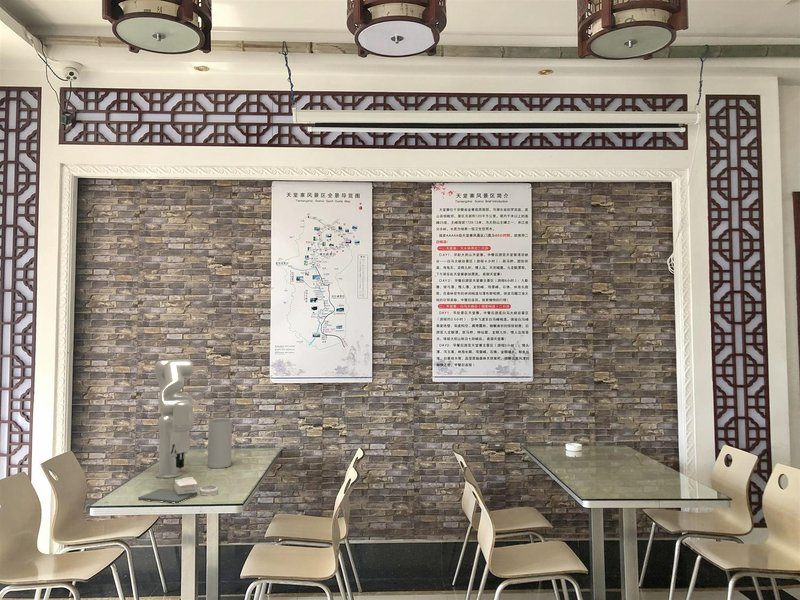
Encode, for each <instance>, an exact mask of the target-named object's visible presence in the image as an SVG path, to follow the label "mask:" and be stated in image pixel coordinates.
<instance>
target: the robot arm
mask: <svg viewBox="0 0 800 600" xmlns="http://www.w3.org/2000/svg"><path fill="white" fill-rule="evenodd" d="M194 372H195V367H194V363H193V362H192V360H190V359H163V360H158V361H156V362H155V365H154V375H155V378H156V381H157V383H158V387H159V395H158V409H159V414H161V416H160V417H158V421H157V427H158V435H159V439H158V440H159V441H158V442H159V444H158V450H159V451H158V472H156V473H155V475H154V476H155V477H156V478H159V479H171V478H176V477H179V476H181V475H182V471H180V469H182V468H184V467H185V458H186V454H188V452H189V450H190V447H191V436H190V435H191V434H190V433H191V432H190V431H191V430H193V428H194V425H195V422H194V421H195V418H194V406H193V405H194V402H193V398H192V395H191V394H190V393H189V392H188V393H187V392H180V391H181V390H183V388H184V387H185V382H184V377H185V378H187V377H191V376H193V375H194Z"/></svg>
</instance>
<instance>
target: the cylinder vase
mask: <svg viewBox="0 0 800 600" xmlns="http://www.w3.org/2000/svg"><path fill="white" fill-rule="evenodd" d="M207 429H208V432H207V433H208V434H207V435H208V436H207V467H208V468H210V469H225V467H226V468H229V467H231V465H232V443H233V442H232V440H233V439H232V436H233V431H232V430H233V419H229V418H216V419H210V420H208V428H207Z"/></svg>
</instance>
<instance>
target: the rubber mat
mask: <svg viewBox="0 0 800 600" xmlns="http://www.w3.org/2000/svg"><path fill="white" fill-rule="evenodd" d="M194 495H196V496H198V491H197V492H196V493H188V494H179V495H178V494H177V492H176V491H175V489H167V488H158V489H156V490H153V491H150V492H148V493H145V494H143V495H141V496H139V497H138V501H141V500H150V501H149V502H152V501H163V502H175V503H179V502H181V501H183V500H185V499H187V498H189V499H191V498H193V497H195V496H194ZM192 496H193V497H192ZM190 497H191V498H190ZM187 500H188V499H187ZM185 501H186V500H185ZM163 502H162V503H163ZM183 502H184V501H183ZM181 503H182V502H181ZM179 504H180V503H179Z"/></svg>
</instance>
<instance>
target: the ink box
mask: <svg viewBox="0 0 800 600" xmlns="http://www.w3.org/2000/svg"><path fill="white" fill-rule="evenodd" d="M197 488H198V482H197V480H195V478H194V477H193V476H189V477H188V476H187V477H182V478H181V477H180V478H174V479H173V490H175V491H176V492H177V494H178V495H179V494H188V493H196V492H197V493H198V489H197Z"/></svg>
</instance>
